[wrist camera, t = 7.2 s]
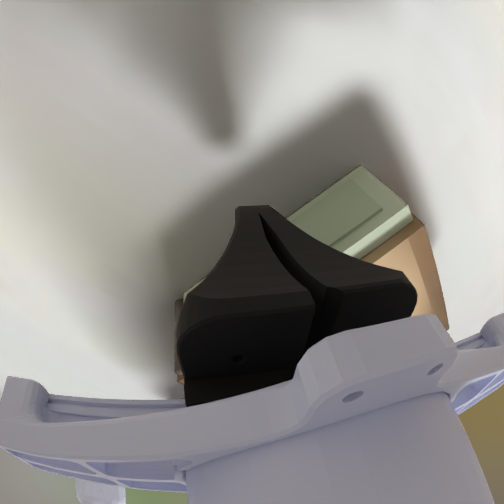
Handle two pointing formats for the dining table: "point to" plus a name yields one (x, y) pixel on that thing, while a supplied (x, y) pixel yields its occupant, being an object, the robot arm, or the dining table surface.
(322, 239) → the door
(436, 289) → the cabinet
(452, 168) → the dining table surface
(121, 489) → the soap bottle
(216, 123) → the dining table surface
